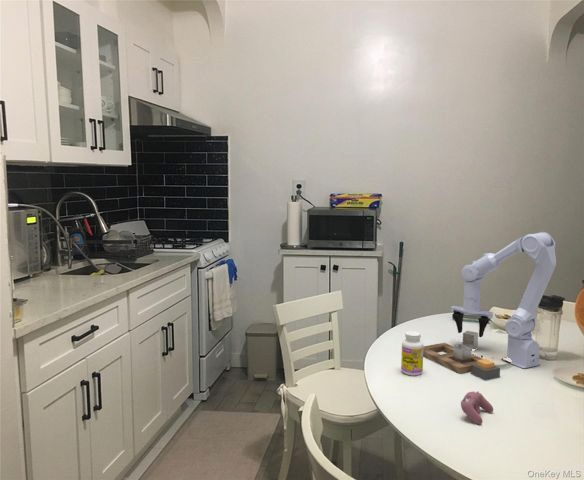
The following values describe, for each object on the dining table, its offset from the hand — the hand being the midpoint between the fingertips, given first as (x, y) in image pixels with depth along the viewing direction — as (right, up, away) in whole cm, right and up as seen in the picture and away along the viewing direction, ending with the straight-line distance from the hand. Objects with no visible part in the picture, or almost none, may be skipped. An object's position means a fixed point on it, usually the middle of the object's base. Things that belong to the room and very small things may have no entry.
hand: (470, 334), depth 183 cm
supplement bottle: (-26, -8, -21) cm, 35 cm away
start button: (-4, -7, -24) cm, 26 cm away
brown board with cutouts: (-10, -7, -11) cm, 16 cm away
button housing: (-4, -8, -24) cm, 26 cm away
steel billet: (0, -5, +1) cm, 5 cm away
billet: (-8, -7, -15) cm, 19 cm away
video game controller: (-16, -12, -51) cm, 55 cm away
